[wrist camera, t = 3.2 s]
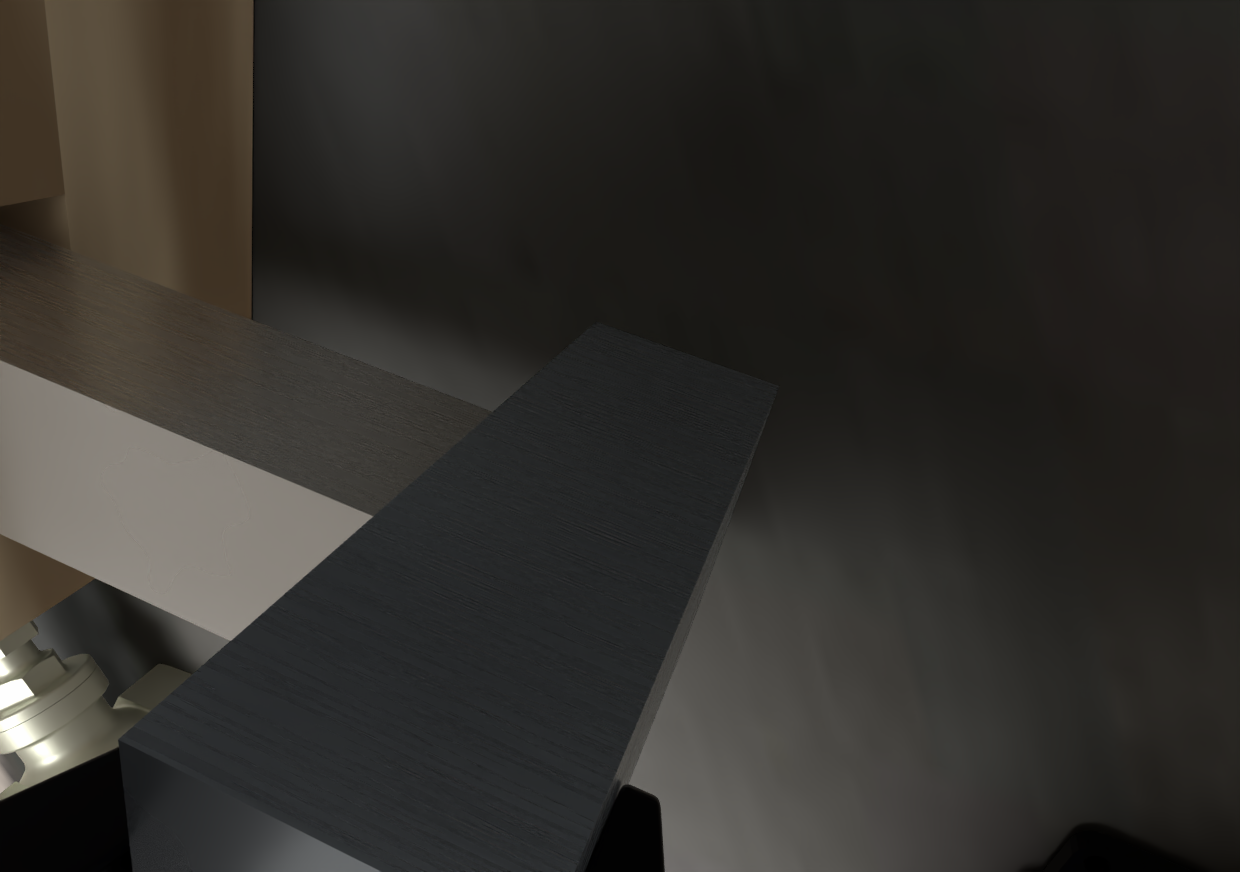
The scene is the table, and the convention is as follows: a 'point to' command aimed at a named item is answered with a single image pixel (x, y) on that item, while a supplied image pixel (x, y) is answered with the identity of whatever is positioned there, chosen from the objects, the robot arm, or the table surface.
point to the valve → (65, 707)
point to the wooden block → (126, 168)
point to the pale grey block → (368, 569)
